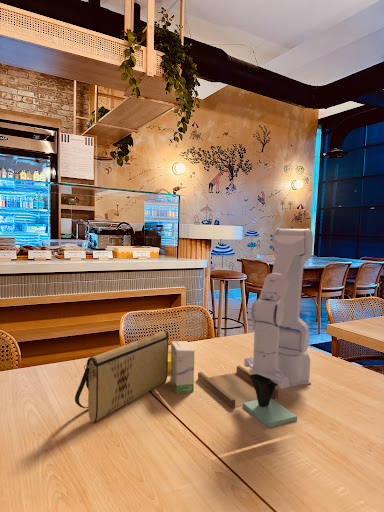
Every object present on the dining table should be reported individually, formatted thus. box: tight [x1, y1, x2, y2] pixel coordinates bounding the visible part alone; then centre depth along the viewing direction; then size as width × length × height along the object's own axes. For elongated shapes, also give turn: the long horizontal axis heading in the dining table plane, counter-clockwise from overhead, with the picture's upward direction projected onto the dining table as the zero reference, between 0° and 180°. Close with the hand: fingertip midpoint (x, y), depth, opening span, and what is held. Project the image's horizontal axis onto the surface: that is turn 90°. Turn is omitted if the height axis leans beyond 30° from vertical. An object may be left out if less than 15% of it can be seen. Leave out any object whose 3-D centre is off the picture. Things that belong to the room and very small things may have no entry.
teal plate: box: [242, 398, 298, 428], centre depth 84 cm, size 8×10×2 cm
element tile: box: [167, 344, 171, 374], centre depth 114 cm, size 15×15×5 cm
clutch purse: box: [74, 330, 170, 424], centre depth 89 cm, size 30×7×15 cm, turn 147°
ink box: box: [169, 340, 195, 394], centre depth 97 cm, size 8×5×12 cm, turn 14°
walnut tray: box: [197, 365, 279, 409], centre depth 96 cm, size 14×18×2 cm
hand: (263, 405), depth 85 cm, fingers closed
